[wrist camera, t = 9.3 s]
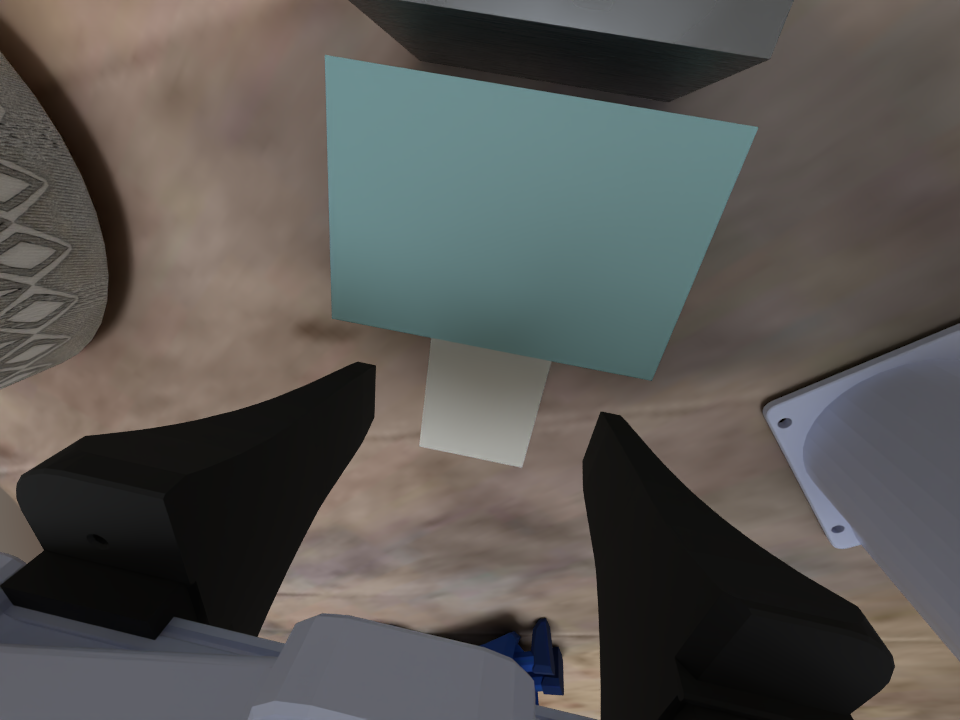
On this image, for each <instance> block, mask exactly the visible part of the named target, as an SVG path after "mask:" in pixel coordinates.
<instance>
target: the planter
mask: <svg viewBox="0 0 960 720" xmlns="http://www.w3.org/2000/svg"><path fill="white" fill-rule="evenodd" d="M108 279H109V274H108V266H107V257H106V249H105V243H104V240H103V236H102V232H101V228H100V224H99V221H98V217H97V213H96V210H95V208H94V205H93V203H92V200H91V198H90V195H89V193H88V190H87V188H86V185H85V183H84V180H83V178H82V175H81V173H80V171H79V169H78V168H77V166H76V164H75V162H74V160H73V158H72V156H71V154H70V152H69V150H68V148H67V146H66V144H65V143H64V141H63V139H62V137H61V135H60V134H59V132H58V131H57V129H56V127H55V126H54V124H53V123H52V121H51V120H50V118H49V117H48V115H47V114H46V112H45V110H44V109H43V107H42V106H41V104H40V103H39V101H38V100H37V98H36V97H35V95H34V94H33V92H32V91H31V90H30V89H29V87H28V86H27V85H26V83H25V82H24V81H23V80H22V78H21V77H20V76H19V74H18V73H17V72H16V71H15V69H14V68H13V67H12V65H11V64H10V63H9V62H8V60H7V59H6V58H5V57H4V55H3V54H2V53H1V52H0V389H2V388H5V387H7V386H9V385H12V384H14V383H16V382H19V381H21V380H23V379H26V378H28V377H30V376H33V375H35V374H37V373H40V372H42V371H44V370H47V369H49V368H51V367H54V366H56V365H58V364H61V363H63V362H64V361H66V360H68V359H70V358H71V357H73V356H75V355H77V354H78V353H79V352H80V351H81V350H82V349H83V348H84V347H85V346H86V345H87V344H88V343H89V342H90V341H91V340H92V339H93V337H94V335H95V334H96V332H97V330H98V328H99V326H100V325H101V323H102V319H103V315H104V312H105V308H106V304H107V297H108Z"/></svg>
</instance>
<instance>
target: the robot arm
mask: <svg viewBox="0 0 960 720" xmlns="http://www.w3.org/2000/svg"><path fill="white" fill-rule="evenodd" d="M375 379H376V365H371V364H366V363H361V362H356V363H353V364H351V365H348V366H346V367H344V368H342V369H340V370H338V371H335V372H333V373H331V374H329V375H327V376H325V377H323V378H320V379H318V380H316V381H314V382H312V383H310V384H307V385H305V386H303V387H300V388H298V389H295V390H293V391H290V392H288V393H285V394H283V395H281V396H278V397H276V398H273V399H270V400H267V401H264V402H261V403H258V404H255V405H252V406H249V407H246V408H243V409H239V410H236V411H232V412H228V413H224V414H220V415H216V416H212V417H208V418H204V419H199V420H195V421H190V422H185V423H179V424H174V425H168V426H162V427H156V428H150V429H143V430H135V431H127V432H118V433H110V434H101V435H91V436H85V437H83V438H81V439H79V440H78V441H76V442H75V443H73V444H71V445H70V446H68V447H67V448H65V449H63V450H62V451H60V452H58V453H57V454H55V455H54V456H52V457H50V458H49V459H47V460H45V461H44V462H42V463H41V464H39V465H37V466H36V467H34V468H33V469H31V470H29V471H28V472H26V473H24V474H23V475H21V477H20V479H19V481H18V483H17V487H16V497H17V501H18V503H19V506H20V508H21V511H22V512H23V514H24V516H25V517H26V519H27V521H28V523H29V525H30V526H31V528H32V530H33V532H34V533H35V535H36V537H37V539H38V540H39V542H40V544H41V546H42V547H43V549H44V551H43V552H42V553H41V554H39V555H38V556H37V557H35V558H34V559H33V560H32V561H30V562H29V563H28V564H26V563H25V562H24V561H22V560H21V559H19V558H18V557H15V556H13V555H10V554H7V553H2V552H0V720H597V719H592V718H588V717H584V716H580V715H576V714H572V713H568V712H564V711H559V710H555V709H551V708H547V707H543V706H539V705H535V687H534V680H533V679H532V678H531V677H530V675H529V674H528V673H527V672H526V671H525V670H524V669H523V668H522V667H520V666H519V665H518V664H517V663H516V662H515V661H514V660H513V659H512V658H510V657H507V656H505V655H502V654H500V653H497V652H495V651H492V650H490V649H487V648H485V647H481V646H477V645H472V644H468V643H464V642H460V641H455V640H451V639H447V638H443V637H439V636H434V635H430V634H426V633H422V632H418V631H413V630H409V629H405V628H401V627H396V626H392V625H388V624H384V623H380V622H375V621H371V620H367V619H363V618H359V617H354V616H350V615H338V614H326V613H322V614H320V615H317V616H314V617H311V618H309V619H306V620H303V621H301V622H298V623H296V624H295V626H294V628H293V630H292V632H291V634H290V636H289V637H288V639H287V641H286V643H285V644H284V643H280V642H276V641H271V640H267V639H263V638H259V637H257V636H258V634H259V632H260V630H261V627H262V625H263V623H264V621H265V618H266V616H267V614H268V611H269V609H270V607H271V605H272V603H273V601H274V598H275V596H276V594H277V592H278V590H279V588H280V586H281V584H282V581H283V579H284V577H285V575H286V573H287V571H288V569H289V567H290V565H291V563H292V561H293V559H294V557H295V555H296V553H297V551H298V549H299V547H300V545H301V542H302V540H303V539H304V537H305V535H306V533H307V531H308V529H309V527H310V525H311V523H312V521H313V519H314V517H315V516H316V514H317V512H318V510H319V508H320V507H321V505H322V503H323V502H324V500H325V498H326V497H327V495H328V494H329V492H330V491H331V489H332V488H333V486H334V485H335V483H336V482H337V480H338V479H339V477H340V476H341V474H342V473H343V471H344V470H345V468H346V467H347V465H348V464H349V462H350V461H351V459H352V458H353V456H354V455H355V453H356V452H357V450H358V449H359V447H360V445H361V444H362V442H363V440H364V438H365V436H366V434H367V432H368V430H369V428H370V426H371V423H372V421H373V419H374V411H375ZM762 412H763V416H764V418H765V419H766V421H767V423H768V425H769V427H770V429H771V431H772V433H773V435H774V437H775V439H776V441H777V443H778V444H779V446H780V448H781V450H782V452H783V454H784V456H785V458H786V460H787V462H788V464H789V466H790V468H791V469H792V471H793V473H794V475H795V477H796V479H797V481H798V483H799V485H800V487H801V489H802V491H803V493H804V494H805V496H806V498H807V500H808V502H809V504H810V506H811V508H812V510H813V512H814V514H815V516H816V518H817V519H818V521H819V523H820V525H821V527H822V529H823V531H824V533H825V535H826V537H827V539H828V540H829V542H830V543H831V544H832V545H833V546H834V547H836V548H839V549H845V548H850V547H854V546H857V545H862V546H863V547H864V548H865V550H866V551H867V552H868V553H869V554H870V556H871V557H872V558H873V559H874V560H875V562H876V563H877V564H878V565H879V566H880V568H881V569H882V570H883V571H884V572H885V573H886V575H887V576H888V577H889V578H890V579H891V581H892V582H893V583H894V584H895V585H896V587H897V588H898V589H899V590H900V591H901V592H902V594H903V595H904V596H905V597H906V598H907V600H908V601H909V602H910V603H911V604H912V606H913V607H914V608H915V609H916V610H917V611H918V613H919V614H920V615H921V616H922V617H923V619H924V620H925V621H926V622H927V623H928V625H929V626H930V627H931V628H932V629H933V631H934V632H935V633H936V634H937V635H938V636H939V638H940V639H941V640H942V641H943V642H944V644H945V645H946V646H947V647H948V648H949V650H950V651H951V652H952V653H953V654H954V655H955V657H956V658H957V659H958V660H959V661H960V323H959V324H957V325H954V326H952V327H949V328H947V329H944V330H942V331H940V332H937V333H935V334H932V335H930V336H928V337H925V338H923V339H920V340H918V341H915V342H913V343H911V344H908V345H906V346H903V347H901V348H899V349H896V350H894V351H891V352H889V353H886V354H884V355H882V356H879V357H877V358H874V359H872V360H870V361H867V362H865V363H862V364H860V365H858V366H855V367H853V368H850V369H848V370H845V371H843V372H841V373H838V374H836V375H833V376H831V377H829V378H826V379H824V380H821V381H819V382H816V383H814V384H812V385H809V386H807V387H804V388H802V389H800V390H797V391H795V392H792V393H790V394H788V395H785V396H783V397H780V398H778V399H775V400H773V401H771V402H769V403H767V404H766V405H765V407H764V408H763V411H762ZM783 418H786V419H785V420H784V421H783V422H780V423H778V422H779V421H780V420H781V419H783ZM583 492H584V499H585V505H586V511H587V517H588V523H589V529H590V535H591V541H592V547H593V553H594V559H595V567H596V578H597V594H598V612H599V636H600V677H601V720H853V718H852V716H851V715H850V714H851V713H852V712H853V711H855V710H856V709H857V708H859V707H860V706H861V705H863V704H864V703H865V702H867V701H868V700H869V699H871V698H872V697H873V696H875V695H876V694H877V693H878V692H880V691H881V690H882V689H883V688H884V687H885V686H886V685H887V684H888V683H889V681H890V679H891V676H892V673H893V670H894V668H895V665H894V660H893V656H892V654H891V653H890V651H889V650H888V648H887V647H886V646H885V644H884V643H883V641H882V640H881V638H880V637H879V636H878V634H877V633H876V631H875V630H874V629H873V627H872V626H871V624H870V623H869V621H868V620H867V619H866V617H865V616H864V614H863V613H862V612H861V610H860V609H859V608H858V607H857V606H856V605H854V604H852V603H851V602H849V601H847V600H845V599H844V598H842V597H840V596H839V595H837V594H835V593H833V592H832V591H830V590H828V589H827V588H825V587H823V586H821V585H820V584H818V583H816V582H815V581H813V580H811V579H809V578H808V577H806V576H804V575H803V574H801V573H800V572H798V571H796V570H795V569H793V568H792V567H790V566H789V565H787V564H786V563H784V562H783V561H781V560H780V559H778V558H777V557H775V556H774V555H772V554H770V553H769V552H768V551H766V550H765V549H763V548H762V547H760V546H759V545H758V544H756V543H755V542H753V541H752V540H750V539H749V538H748V537H746V536H745V535H744V534H742V533H741V532H740V531H739V530H737V529H736V528H735V527H733V526H732V525H731V524H729V523H728V522H727V521H725V520H724V519H723V518H722V517H720V516H719V515H718V514H717V513H715V512H714V511H713V510H712V509H711V508H710V507H708V506H707V505H706V504H705V503H704V502H703V501H702V500H700V499H699V498H698V497H697V496H696V495H695V494H694V493H693V492H691V491H690V490H689V489H688V488H687V487H686V486H685V485H684V484H683V483H682V482H681V481H680V480H679V479H678V478H677V477H676V476H675V475H674V474H673V473H672V472H671V471H670V470H669V469H668V468H667V467H666V466H665V465H664V464H663V463H662V462H661V460H660V459H659V458H658V457H657V456H656V455H655V454H654V453H653V452H652V450H651V449H650V448H649V447H648V446H647V445H646V444H645V443H644V441H643V440H642V439H641V438H640V437H639V436H638V434H637V433H636V432H635V431H634V430H633V429H632V427H631V426H630V425H629V424H628V423H627V422H626V421H625V420H624V419H623V418H622V417H621V416H620V415H616V414H611V413H606V412H600V415H599V418H598V420H597V423H596V426H595V429H594V431H593V434H592V437H591V439H590V442H589V445H588V448H587V450H586V453H585V456H584V459H583Z"/></svg>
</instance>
